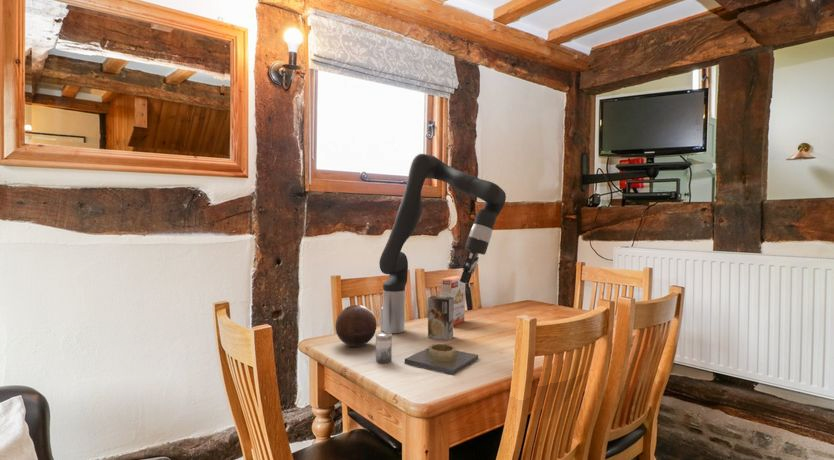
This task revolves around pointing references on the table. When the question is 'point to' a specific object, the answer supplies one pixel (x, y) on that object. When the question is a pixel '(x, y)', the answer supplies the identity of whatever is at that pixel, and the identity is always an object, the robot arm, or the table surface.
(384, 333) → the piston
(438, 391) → the table surface
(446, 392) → the table surface
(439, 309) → the coffee box
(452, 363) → the square base with socket
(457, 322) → the cracker box
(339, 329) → the wooden sphere
